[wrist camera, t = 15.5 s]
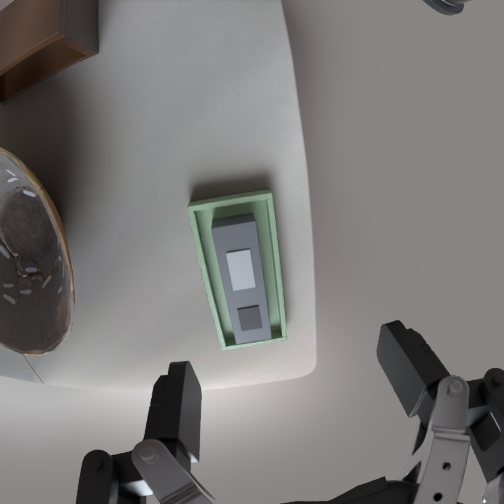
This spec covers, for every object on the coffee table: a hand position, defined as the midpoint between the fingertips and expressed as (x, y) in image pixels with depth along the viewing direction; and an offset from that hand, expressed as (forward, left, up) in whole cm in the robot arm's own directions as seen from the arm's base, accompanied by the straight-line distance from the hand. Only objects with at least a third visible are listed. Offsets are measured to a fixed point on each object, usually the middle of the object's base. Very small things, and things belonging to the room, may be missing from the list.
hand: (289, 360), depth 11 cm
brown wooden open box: (+3, -34, -21) cm, 40 cm away
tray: (+6, +5, -21) cm, 23 cm away
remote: (+6, +5, -21) cm, 22 cm away
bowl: (+22, -19, -22) cm, 36 cm away
